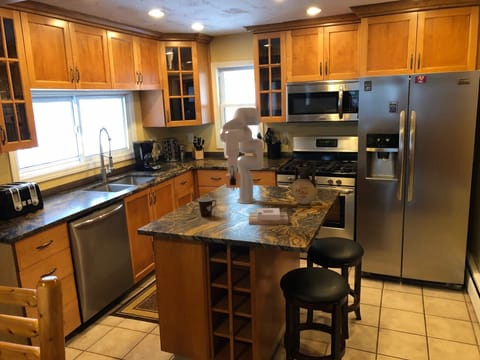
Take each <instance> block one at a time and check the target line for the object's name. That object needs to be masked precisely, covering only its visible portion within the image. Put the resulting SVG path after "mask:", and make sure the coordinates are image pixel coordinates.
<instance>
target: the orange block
mask: <svg viewBox="0 0 480 360" xmlns="http://www.w3.org/2000/svg"><path fill="white" fill-rule="evenodd" d="M235 178H236V185H230V173H229V174H228V173H226V174H225V188H226V189H230V190H232V191H235V189H236V191H237V190H238V189H239V188H240V187H241V173H239V172H236V173H235Z"/></svg>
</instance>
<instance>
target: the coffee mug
mask: <svg viewBox="0 0 480 360" xmlns="http://www.w3.org/2000/svg"><path fill="white" fill-rule="evenodd" d="M197 201H198V208H199V213H200V217H201V218H210V217H212V214H213V209H214V208H215V206H217V200H216V199H213V198H211V197H204V198H203V197H202V198H199V199H198V200H197ZM213 202H215V204H214V205H213Z"/></svg>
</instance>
